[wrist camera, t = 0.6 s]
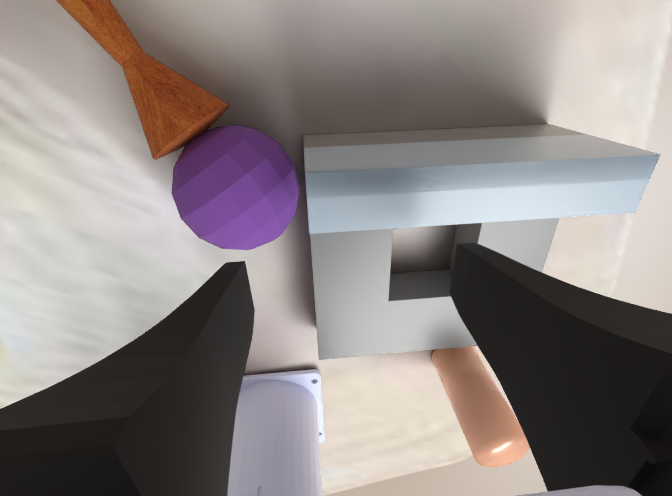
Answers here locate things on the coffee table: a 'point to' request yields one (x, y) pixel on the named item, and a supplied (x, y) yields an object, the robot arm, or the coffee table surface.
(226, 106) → the kendama
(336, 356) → the socket
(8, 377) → the coffee table surface
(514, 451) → the peg
